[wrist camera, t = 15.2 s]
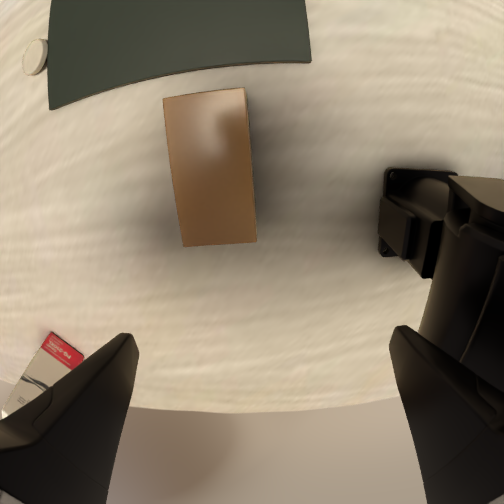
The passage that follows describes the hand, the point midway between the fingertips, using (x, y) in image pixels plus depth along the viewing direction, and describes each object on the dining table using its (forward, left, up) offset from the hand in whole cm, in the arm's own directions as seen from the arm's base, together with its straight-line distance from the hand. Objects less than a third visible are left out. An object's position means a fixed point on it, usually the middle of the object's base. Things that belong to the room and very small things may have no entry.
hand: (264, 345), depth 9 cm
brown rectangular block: (+2, -4, -11) cm, 12 cm away
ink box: (+24, +15, -12) cm, 31 cm away
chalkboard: (+5, -15, -11) cm, 20 cm away
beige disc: (+16, -15, -11) cm, 24 cm away
